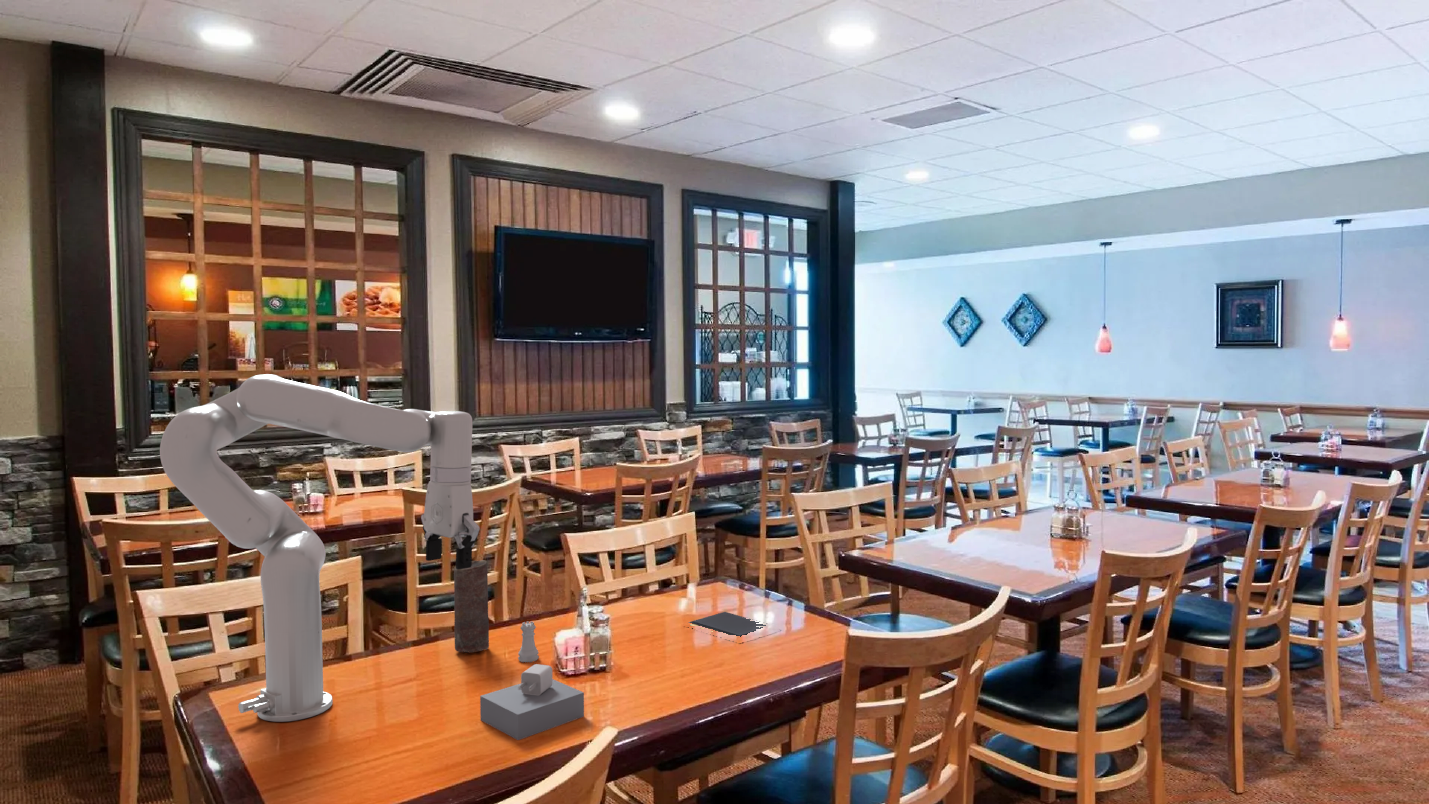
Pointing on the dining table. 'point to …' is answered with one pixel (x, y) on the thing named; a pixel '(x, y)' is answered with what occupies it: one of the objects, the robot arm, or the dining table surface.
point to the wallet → (728, 624)
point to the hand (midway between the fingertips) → (448, 563)
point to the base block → (531, 709)
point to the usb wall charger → (536, 679)
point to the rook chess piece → (528, 643)
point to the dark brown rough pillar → (471, 608)
